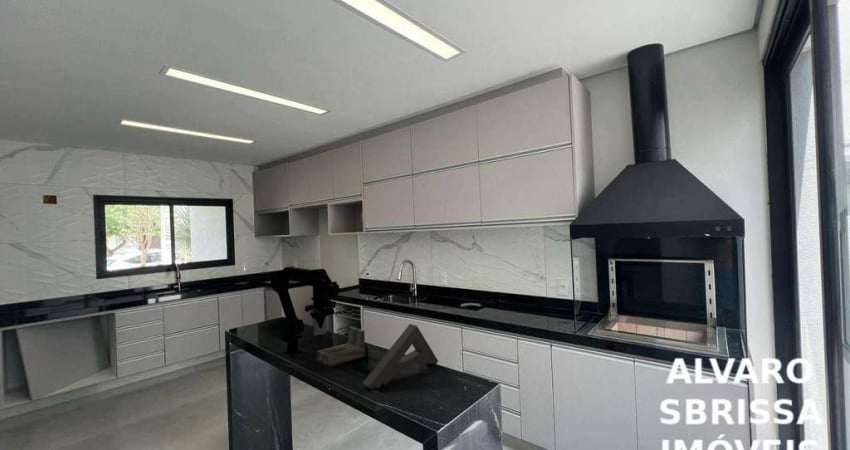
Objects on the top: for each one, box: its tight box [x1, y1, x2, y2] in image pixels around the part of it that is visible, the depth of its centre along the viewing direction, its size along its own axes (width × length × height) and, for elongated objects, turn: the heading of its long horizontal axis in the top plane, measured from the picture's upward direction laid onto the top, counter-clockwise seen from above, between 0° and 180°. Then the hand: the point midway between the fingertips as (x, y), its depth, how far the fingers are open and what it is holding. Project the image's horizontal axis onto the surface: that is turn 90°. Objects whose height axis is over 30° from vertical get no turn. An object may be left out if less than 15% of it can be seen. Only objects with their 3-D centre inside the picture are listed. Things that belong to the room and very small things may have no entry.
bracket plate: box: [312, 316, 328, 336], centre depth 165 cm, size 2×6×8 cm, turn 135°
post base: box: [316, 325, 366, 368], centre depth 161 cm, size 12×18×12 cm, turn 135°
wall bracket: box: [362, 323, 439, 390], centre depth 141 cm, size 22×4×30 cm
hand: (319, 327), depth 165 cm, fingers closed on bracket plate, 2 cm apart
